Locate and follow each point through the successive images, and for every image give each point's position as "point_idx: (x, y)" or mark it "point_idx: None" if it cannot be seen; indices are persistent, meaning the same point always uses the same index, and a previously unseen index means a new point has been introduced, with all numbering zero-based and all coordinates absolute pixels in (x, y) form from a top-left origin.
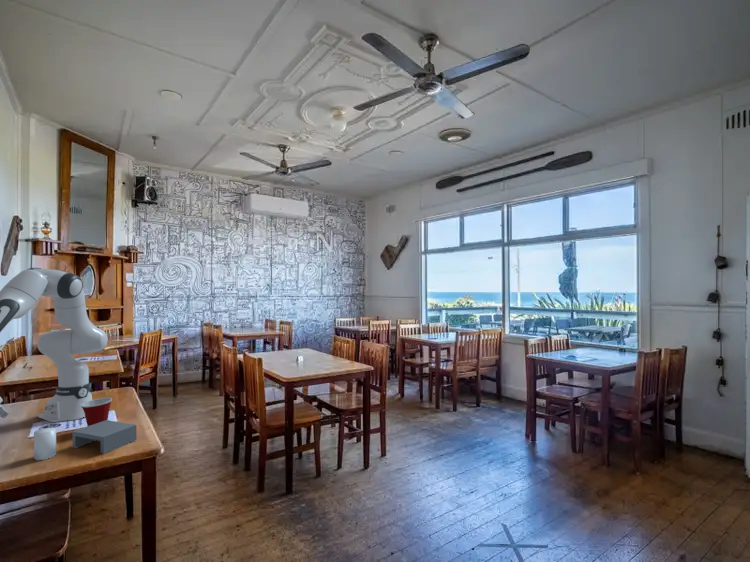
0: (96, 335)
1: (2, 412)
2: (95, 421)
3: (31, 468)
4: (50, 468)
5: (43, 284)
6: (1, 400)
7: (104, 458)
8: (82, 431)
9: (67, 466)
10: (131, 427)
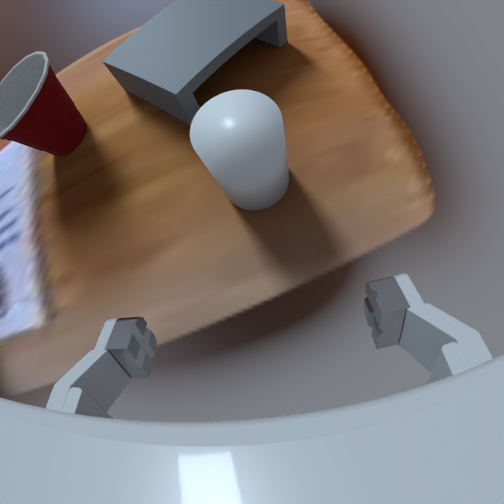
0: None
1: (118, 362)
2: (70, 108)
3: (357, 180)
4: (368, 126)
5: None
6: (1, 404)
7: (319, 35)
8: (193, 64)
9: (360, 90)
10: None
